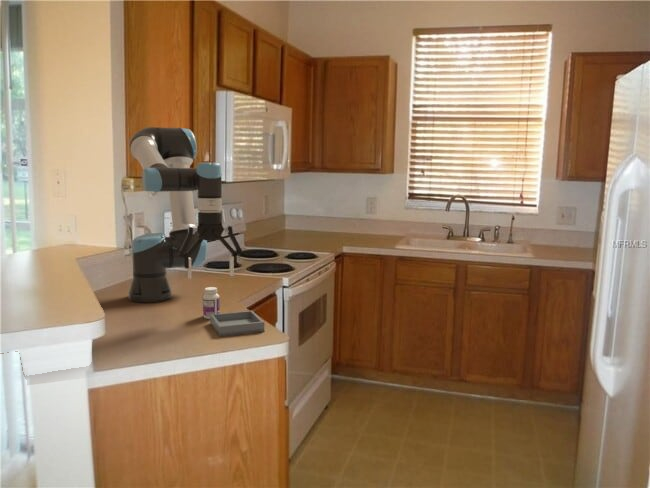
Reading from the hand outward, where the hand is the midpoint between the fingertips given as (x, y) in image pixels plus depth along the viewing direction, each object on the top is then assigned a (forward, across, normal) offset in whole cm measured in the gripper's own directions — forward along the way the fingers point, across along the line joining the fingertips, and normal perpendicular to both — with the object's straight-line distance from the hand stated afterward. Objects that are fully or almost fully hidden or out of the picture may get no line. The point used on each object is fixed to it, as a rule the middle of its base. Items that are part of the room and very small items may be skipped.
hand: (211, 276), depth 182 cm
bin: (+14, +5, -14) cm, 20 cm away
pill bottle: (+14, 0, 0) cm, 14 cm away
